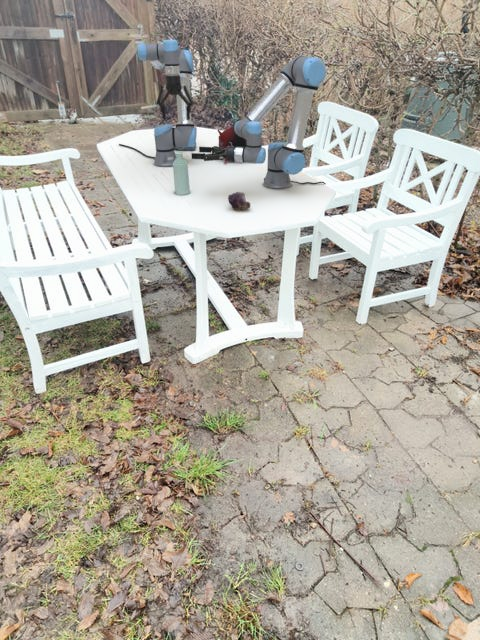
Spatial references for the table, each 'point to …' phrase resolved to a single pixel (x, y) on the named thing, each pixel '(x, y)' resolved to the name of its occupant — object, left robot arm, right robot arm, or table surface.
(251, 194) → the table surface
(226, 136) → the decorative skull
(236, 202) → the rock
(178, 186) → the bottle
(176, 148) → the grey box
